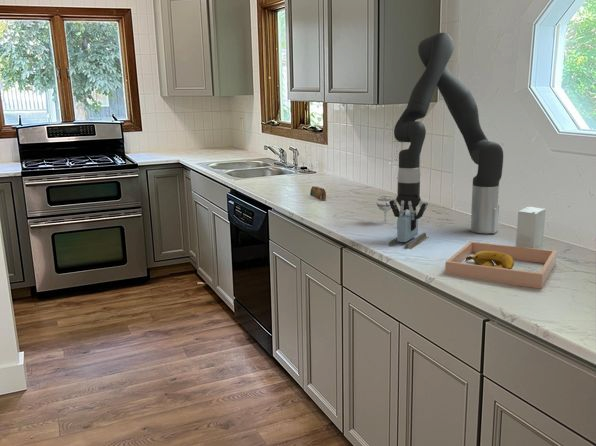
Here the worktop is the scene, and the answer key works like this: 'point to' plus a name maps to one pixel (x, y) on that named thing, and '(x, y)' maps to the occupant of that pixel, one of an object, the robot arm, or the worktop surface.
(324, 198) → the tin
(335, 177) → the worktop surface
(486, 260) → the banana
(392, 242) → the door track
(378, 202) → the wineglass
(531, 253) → the fruit tray rim
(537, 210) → the skincare box
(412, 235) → the door panel
